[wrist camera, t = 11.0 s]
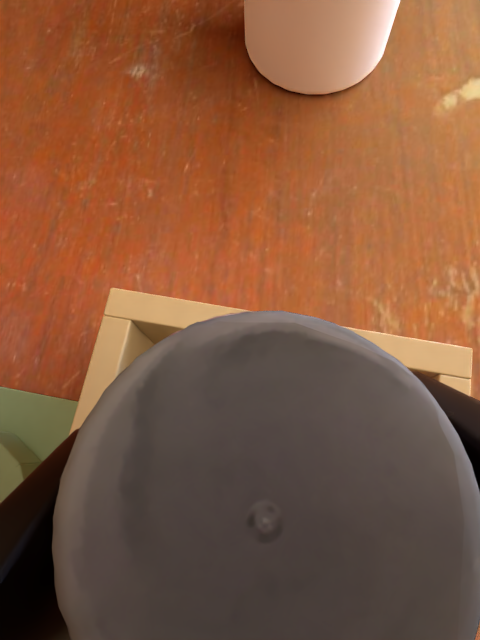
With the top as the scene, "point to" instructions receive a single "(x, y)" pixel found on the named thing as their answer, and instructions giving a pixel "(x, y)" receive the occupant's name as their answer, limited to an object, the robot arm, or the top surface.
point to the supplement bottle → (267, 494)
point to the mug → (317, 41)
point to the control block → (29, 433)
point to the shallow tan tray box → (176, 314)
